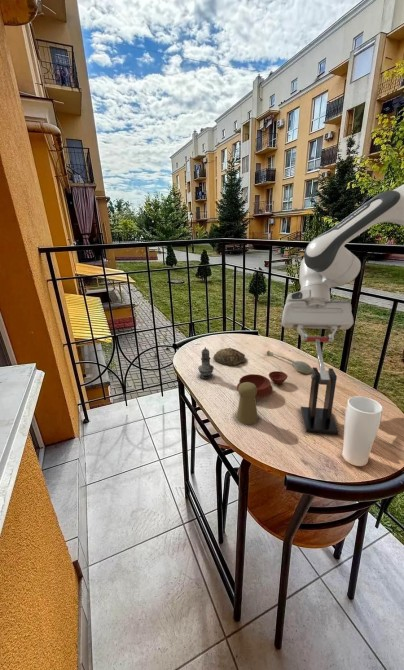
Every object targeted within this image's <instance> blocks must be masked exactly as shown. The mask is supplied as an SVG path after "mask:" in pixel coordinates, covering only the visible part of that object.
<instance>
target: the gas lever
mask: <svg viewBox="0 0 404 670" xmlns="http://www.w3.org/2000/svg"><path fill="white" fill-rule="evenodd" d="M306 342H314V344H315V350H316V356H317V362H318V369H319V370H318V372H319V374H320V380H319V385H322V386H326V385H328V383H329V381H330V378H329V373H328V370H326V368H325V363H324V358H323V351H322V347H321V343H329V342H328V337H327V336H307V341H306Z"/></svg>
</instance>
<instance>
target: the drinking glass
mask: <svg viewBox="0 0 404 670" xmlns="http://www.w3.org/2000/svg"><path fill="white" fill-rule="evenodd" d="M382 416H383V406H382V404H381V403H380V402H379V401H377V400H375V399H373V398H370V397H367V396H361V395H355V396H351V397H349V398H348V399H347V403H346V406H345V413H344V424H343V426H344V427H343V442H342V443H343V444H342V453H341V454H342V458H343V459H344V461H346V462H347V463H348V464H350V465H352V466H356V467H363V466H366V465H367V464H368V462H369V458H370V454H371V452H372V448H373V446H374V443H375V439H376V437H377V435H378V431H379V428H380V425H381V422H382Z"/></svg>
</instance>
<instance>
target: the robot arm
mask: <svg viewBox="0 0 404 670" xmlns="http://www.w3.org/2000/svg"><path fill="white" fill-rule="evenodd" d="M379 223H380V224H381V223H390V224H391V223H392V224H396V225H398V226H404V183H403V184H401V185H400V186H398V187H396V188H394V189H392V190H391V189H389V190H385V191H381V192H380V193H379V194H376V195H375V196H373V197H372V198H371V199H370V200H368V201H366V202H365V203H363V204H362V205H361V206H360V207H358V208H357V209H355V210H354V211H353V212H352V213H350V214H349V215H348V216H346V217H345V218H343V219H342V220H341V221H340V222H338V223H336V225H334V226H333V227H331V228H330V229H328V230H327V231H325V232H323V233H321V234H320V235H317V236H316V237H315V238H313V239H312V240H311V241H310V242H309V243H308V244H307V245H306V248H305V250H304V256H303V258H302V260H301V262H300V264H299V265H300V266H299V272H298V275H299V276H298V281H299V285H300V290H299V291H295V292H292V293H289V294H288V295H287V296H286V299H285V304H284V307H283V309H282V310H283V311H282V316H281V326H282V327H283V328H284V329H285V328H286V329H296V331H297V333H298V334H299V336H300V341H301V342H308V341H307V337H308V333H305V332H304V330H303V329H318V330H319V329H320V330H322V329H323V330H329V331H330V334H328V335H326V337H328V342H327V343H333V342H334V341H335V334H336V333H337V331H338V330H349V329H351V328H352V326H353V325H354V324H355V323H354V316H353V313H352V310H353V308H352V304H351V302H349V301H346V300H345V299H341V300H337V299H331V291H330V289H333V288H338V287H341V286H342V287H343V286H345V285H347V284H350V283H352V282H353V281H355V280H356V278H357V277H358V276H359V274H360V272H361V268H362V262H361V260H360V258H358V257H357V256H356V255H355V254H354V253H353V252H351V250H349V249H348V248H347V247H345V246H346V245H347V244H348V243H349V242H351V241H352V240H354V239H355V238H357V237H358V236H359V235H361V234H362V233H364V232H365V231H367V230H368V229H369V228H371V227H372V226H375V225H377V224H379Z"/></svg>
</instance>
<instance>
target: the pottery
mask: <svg viewBox="0 0 404 670" xmlns="http://www.w3.org/2000/svg"><path fill="white" fill-rule="evenodd" d="M287 380H288V374H287V373H285V372H284V371H280V370H279V371H271V372H269V373H268V377H266V376H265V375H262V374H256V373H253V374H252V373H251V374H246V375H243V376H241V377H240V378H239V380H238V383H237V385H236V391H238V388H239V386H240V384H241V383H244V382H250V383H253V384H255V386H256V387H257V394H256V395H255V399H261V398H266V397H268V396H270V395H271V394H272V393H273V390H274V388H273V385H275V386H281V385H282V384H283V383H284V382H285V381H287ZM271 381H272V383H273V385H272V383H271Z"/></svg>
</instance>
